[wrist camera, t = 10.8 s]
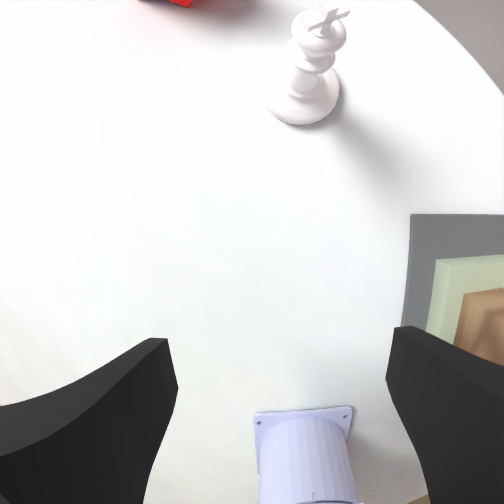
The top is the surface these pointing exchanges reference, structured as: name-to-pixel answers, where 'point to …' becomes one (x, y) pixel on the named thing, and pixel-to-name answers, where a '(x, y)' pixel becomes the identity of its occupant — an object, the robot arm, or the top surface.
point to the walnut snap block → (482, 325)
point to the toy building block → (182, 2)
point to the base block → (460, 289)
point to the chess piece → (305, 67)
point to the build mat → (444, 253)
